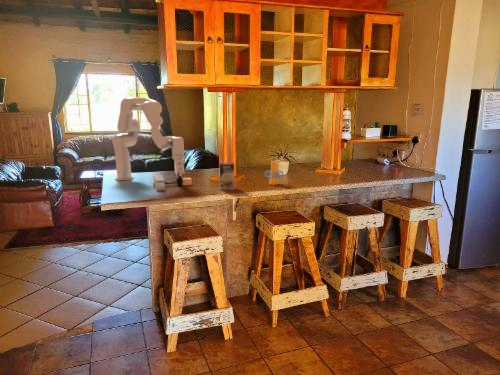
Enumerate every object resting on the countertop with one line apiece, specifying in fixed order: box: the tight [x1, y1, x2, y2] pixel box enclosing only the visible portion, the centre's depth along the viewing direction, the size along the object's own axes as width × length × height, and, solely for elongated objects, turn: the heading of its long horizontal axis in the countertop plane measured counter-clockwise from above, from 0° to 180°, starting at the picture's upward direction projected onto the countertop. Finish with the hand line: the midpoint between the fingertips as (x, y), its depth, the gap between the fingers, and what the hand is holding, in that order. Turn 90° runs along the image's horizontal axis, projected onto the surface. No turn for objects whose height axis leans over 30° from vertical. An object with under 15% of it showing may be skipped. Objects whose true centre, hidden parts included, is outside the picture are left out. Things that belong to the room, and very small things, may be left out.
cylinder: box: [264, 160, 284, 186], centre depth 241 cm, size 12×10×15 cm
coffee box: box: [219, 162, 235, 191], centre depth 227 cm, size 9×6×16 cm
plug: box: [152, 177, 193, 189], centre depth 238 cm, size 4×24×4 cm, turn 109°
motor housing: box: [152, 174, 166, 191], centre depth 235 cm, size 20×5×6 cm, turn 19°
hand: (179, 184), depth 240 cm, fingers closed, pressing on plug
